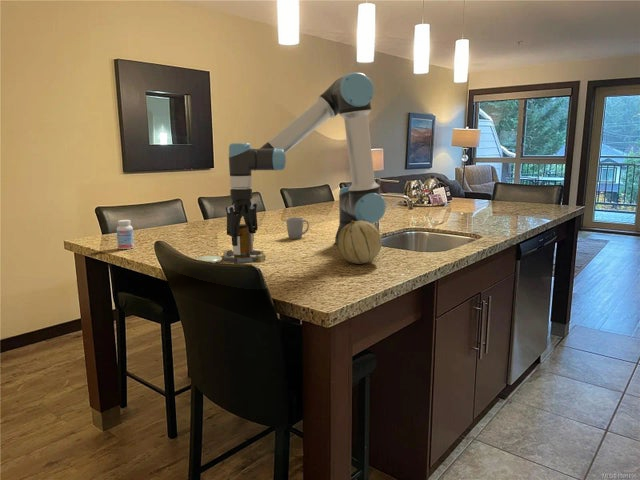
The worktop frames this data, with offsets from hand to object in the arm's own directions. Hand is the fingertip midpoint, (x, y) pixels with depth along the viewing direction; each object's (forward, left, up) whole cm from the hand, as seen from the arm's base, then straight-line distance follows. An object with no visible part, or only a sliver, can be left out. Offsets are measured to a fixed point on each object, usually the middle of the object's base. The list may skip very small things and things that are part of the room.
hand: (243, 252), depth 171 cm
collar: (0, 0, -2) cm, 2 cm away
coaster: (+8, +10, -2) cm, 13 cm away
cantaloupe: (-39, -15, -2) cm, 42 cm away
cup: (+7, -42, -2) cm, 43 cm away
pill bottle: (+52, +12, -2) cm, 53 cm away
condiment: (0, 0, -2) cm, 2 cm away
